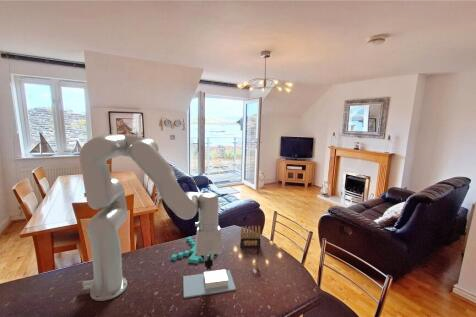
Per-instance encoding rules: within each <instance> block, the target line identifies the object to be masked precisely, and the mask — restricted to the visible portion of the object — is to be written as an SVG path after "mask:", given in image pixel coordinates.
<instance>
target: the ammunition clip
mask: <svg viewBox="0 0 476 317" xmlns="http://www.w3.org/2000/svg"><path fill="white" fill-rule="evenodd" d="M240 229H241V230H240V244H239V246H240V249H241V248H242V249H244V248H245V249H246V248H248V249H250V248H254V249H255V248H257V249H258V248H261V225H258V227H257V225H255V226H254V225H251V226H250V225H248V227H247V225H245V227H244V226H243V225H241V228H240Z"/></svg>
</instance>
